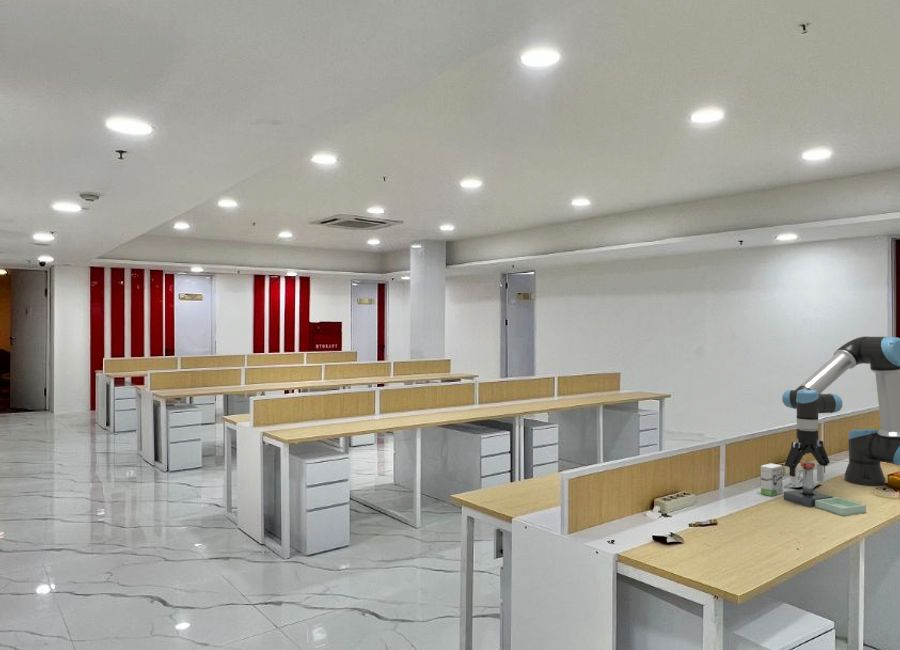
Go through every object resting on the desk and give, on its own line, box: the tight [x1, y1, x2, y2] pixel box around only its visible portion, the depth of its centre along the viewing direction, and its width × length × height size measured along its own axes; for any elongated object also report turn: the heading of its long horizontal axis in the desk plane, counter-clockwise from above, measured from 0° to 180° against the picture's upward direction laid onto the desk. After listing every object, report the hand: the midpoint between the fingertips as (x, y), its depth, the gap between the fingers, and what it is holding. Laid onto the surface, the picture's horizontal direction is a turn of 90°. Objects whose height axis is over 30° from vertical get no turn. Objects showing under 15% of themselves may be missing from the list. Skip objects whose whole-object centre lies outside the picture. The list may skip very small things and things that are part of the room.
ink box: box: [760, 462, 784, 497], centre depth 261 cm, size 9×5×12 cm, turn 124°
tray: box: [814, 497, 867, 517], centre depth 238 cm, size 12×12×3 cm
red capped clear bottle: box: [800, 461, 816, 496], centre depth 249 cm, size 5×5×15 cm
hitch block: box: [783, 488, 834, 508], centre depth 249 cm, size 12×12×3 cm
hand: (807, 483), depth 249 cm, fingers open, 13 cm apart
